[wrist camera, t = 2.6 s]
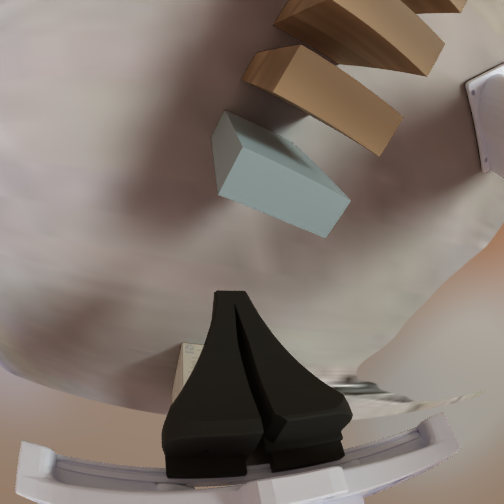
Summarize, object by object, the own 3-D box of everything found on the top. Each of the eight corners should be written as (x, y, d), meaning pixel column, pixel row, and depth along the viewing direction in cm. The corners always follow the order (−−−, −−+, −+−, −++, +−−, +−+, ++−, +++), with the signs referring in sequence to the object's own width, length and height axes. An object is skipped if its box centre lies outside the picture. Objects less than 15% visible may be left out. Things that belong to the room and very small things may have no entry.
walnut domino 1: (339, 64, 16) (427, 76, 9) (272, 24, 14) (329, -2, 7) (352, 41, 15) (445, 43, 8) (287, 1, 14) (353, -36, 6)
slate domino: (278, 167, 20) (325, 238, 13) (210, 137, 18) (218, 194, 11) (292, 142, 19) (351, 200, 12) (224, 110, 17) (242, 147, 10)
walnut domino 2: (309, 114, 18) (379, 156, 11) (240, 79, 16) (272, 92, 9) (323, 90, 17) (403, 117, 10) (256, 52, 15) (300, 44, 8)
